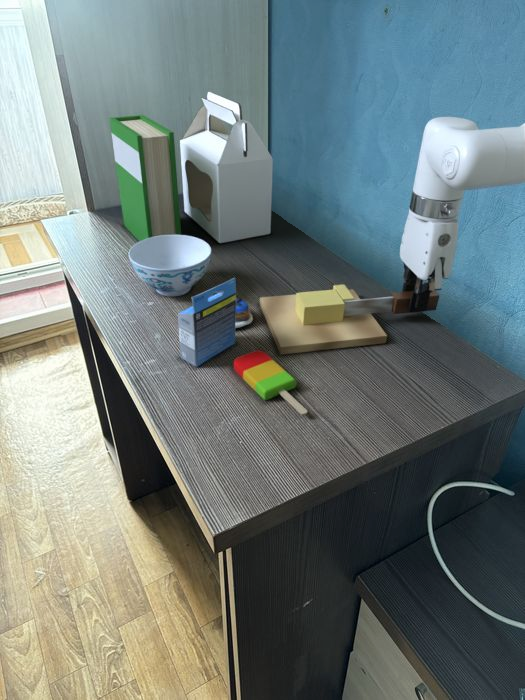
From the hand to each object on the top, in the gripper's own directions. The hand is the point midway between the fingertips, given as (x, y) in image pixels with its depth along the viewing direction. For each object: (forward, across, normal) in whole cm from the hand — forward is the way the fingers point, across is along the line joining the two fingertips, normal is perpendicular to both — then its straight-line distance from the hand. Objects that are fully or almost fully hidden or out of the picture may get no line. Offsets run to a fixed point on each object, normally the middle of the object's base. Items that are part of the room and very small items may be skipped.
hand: (412, 305), depth 91 cm
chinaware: (+3, +18, +41) cm, 45 cm away
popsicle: (+3, -15, +29) cm, 32 cm away
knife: (+1, 0, +5) cm, 5 cm away
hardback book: (+2, +44, +44) cm, 62 cm away
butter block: (+1, +1, +17) cm, 17 cm away
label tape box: (+3, -4, +37) cm, 37 cm away
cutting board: (+2, +1, +17) cm, 17 cm away
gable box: (+2, +49, +26) cm, 55 cm away
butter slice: (+1, +3, +12) cm, 13 cm away
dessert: (+3, +5, +32) cm, 32 cm away
